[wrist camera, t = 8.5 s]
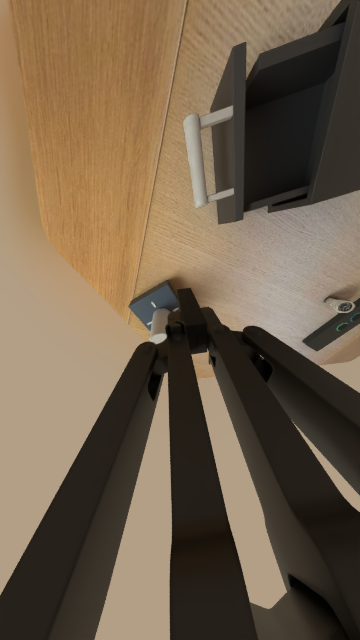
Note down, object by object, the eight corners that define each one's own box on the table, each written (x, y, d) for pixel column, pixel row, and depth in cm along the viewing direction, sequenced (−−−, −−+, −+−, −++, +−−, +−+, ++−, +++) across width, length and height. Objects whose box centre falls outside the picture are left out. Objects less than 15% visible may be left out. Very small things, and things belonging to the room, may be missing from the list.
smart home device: (384, 307, 38) (317, 352, 46) (376, 305, 39) (313, 348, 48) (375, 294, 35) (305, 344, 43) (367, 292, 36) (301, 341, 45)
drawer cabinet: (267, 213, 24) (310, 204, 17) (280, 80, 17) (367, -35, 10) (355, 186, 23) (439, 165, 16) (411, 32, 16) (616, -135, 9)
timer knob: (149, 313, 30) (143, 341, 22) (165, 304, 29) (165, 330, 21) (159, 326, 32) (158, 356, 25) (175, 319, 31) (178, 346, 24)
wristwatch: (327, 293, 35) (349, 301, 31) (343, 297, 37) (366, 306, 32) (317, 304, 37) (336, 313, 33) (332, 308, 38) (353, 317, 34)
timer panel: (131, 300, 31) (128, 307, 28) (167, 279, 29) (167, 284, 27) (159, 333, 37) (158, 341, 35) (190, 318, 35) (192, 325, 33)
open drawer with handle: (191, 232, 24) (200, 232, 18) (172, 122, 17) (176, 62, 11) (299, 199, 23) (347, 187, 17) (326, 66, 16) (423, -34, 10)
